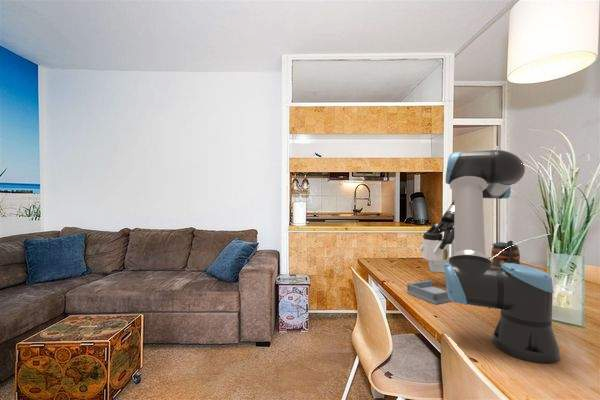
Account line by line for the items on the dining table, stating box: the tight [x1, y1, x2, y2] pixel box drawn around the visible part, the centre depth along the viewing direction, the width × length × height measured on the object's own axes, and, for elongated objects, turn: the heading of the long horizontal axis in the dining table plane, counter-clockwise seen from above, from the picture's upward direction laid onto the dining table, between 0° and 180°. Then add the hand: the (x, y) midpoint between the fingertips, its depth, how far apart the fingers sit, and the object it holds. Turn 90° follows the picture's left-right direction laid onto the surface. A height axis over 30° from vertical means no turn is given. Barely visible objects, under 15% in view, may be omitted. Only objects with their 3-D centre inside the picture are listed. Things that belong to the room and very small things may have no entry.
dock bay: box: [406, 280, 452, 305], centre depth 130 cm, size 15×14×4 cm
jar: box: [421, 232, 444, 261], centre depth 144 cm, size 9×8×12 cm
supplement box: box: [428, 244, 450, 274], centre depth 173 cm, size 10×9×17 cm
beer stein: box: [490, 240, 521, 268], centre depth 162 cm, size 19×15×20 cm
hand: (428, 252), depth 143 cm, fingers closed on jar, 8 cm apart
